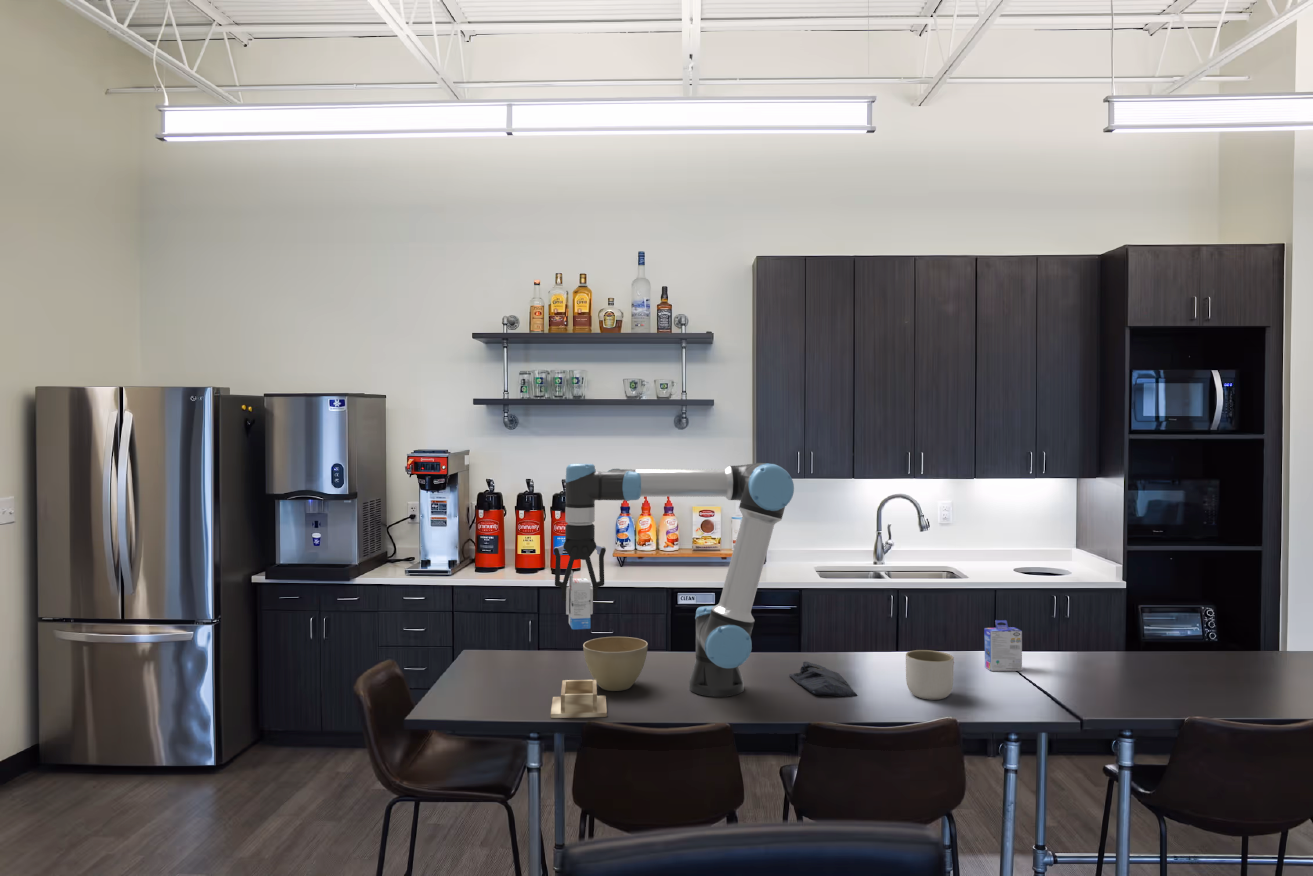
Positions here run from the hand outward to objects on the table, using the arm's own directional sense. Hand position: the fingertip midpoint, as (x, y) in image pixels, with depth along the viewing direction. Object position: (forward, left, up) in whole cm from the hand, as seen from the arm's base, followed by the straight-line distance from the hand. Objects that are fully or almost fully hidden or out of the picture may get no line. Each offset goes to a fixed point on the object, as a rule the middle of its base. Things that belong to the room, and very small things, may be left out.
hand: (579, 613), depth 220 cm
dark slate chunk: (-69, -15, -25) cm, 75 cm away
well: (0, 0, -25) cm, 25 cm away
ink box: (0, 0, -3) cm, 3 cm away
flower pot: (-10, -18, -25) cm, 32 cm away
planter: (-95, -4, -25) cm, 98 cm away
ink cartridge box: (-128, -28, -25) cm, 133 cm away
